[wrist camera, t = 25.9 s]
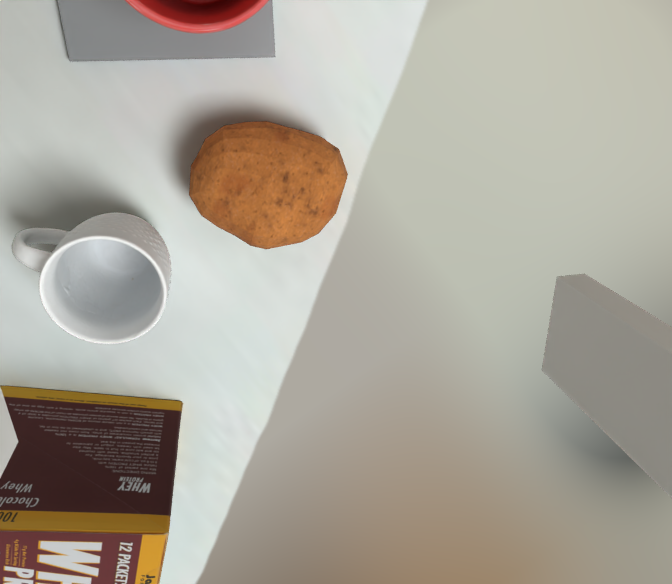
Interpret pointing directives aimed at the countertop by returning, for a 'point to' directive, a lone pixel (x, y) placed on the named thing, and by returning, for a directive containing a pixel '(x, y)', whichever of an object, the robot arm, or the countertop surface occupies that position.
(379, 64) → the countertop surface
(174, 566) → the countertop surface
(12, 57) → the countertop surface
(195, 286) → the countertop surface
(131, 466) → the supplement box
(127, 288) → the mug
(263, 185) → the potato
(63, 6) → the plate
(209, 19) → the flower pot
